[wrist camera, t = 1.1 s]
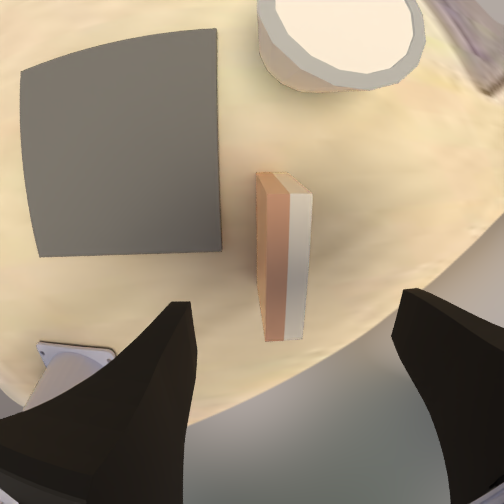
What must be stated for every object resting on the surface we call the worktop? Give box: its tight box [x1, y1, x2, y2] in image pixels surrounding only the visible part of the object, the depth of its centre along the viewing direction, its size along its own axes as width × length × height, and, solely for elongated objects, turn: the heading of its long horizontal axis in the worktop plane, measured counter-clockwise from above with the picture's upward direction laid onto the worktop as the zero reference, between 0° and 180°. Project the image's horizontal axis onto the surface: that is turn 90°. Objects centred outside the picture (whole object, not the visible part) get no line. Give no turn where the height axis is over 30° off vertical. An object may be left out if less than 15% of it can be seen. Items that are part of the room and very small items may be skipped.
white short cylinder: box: [257, 0, 426, 93], centre depth 11 cm, size 7×7×7 cm
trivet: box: [20, 28, 222, 257], centre depth 16 cm, size 13×13×1 cm
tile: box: [256, 172, 313, 342], centre depth 16 cm, size 7×2×6 cm, turn 1°
